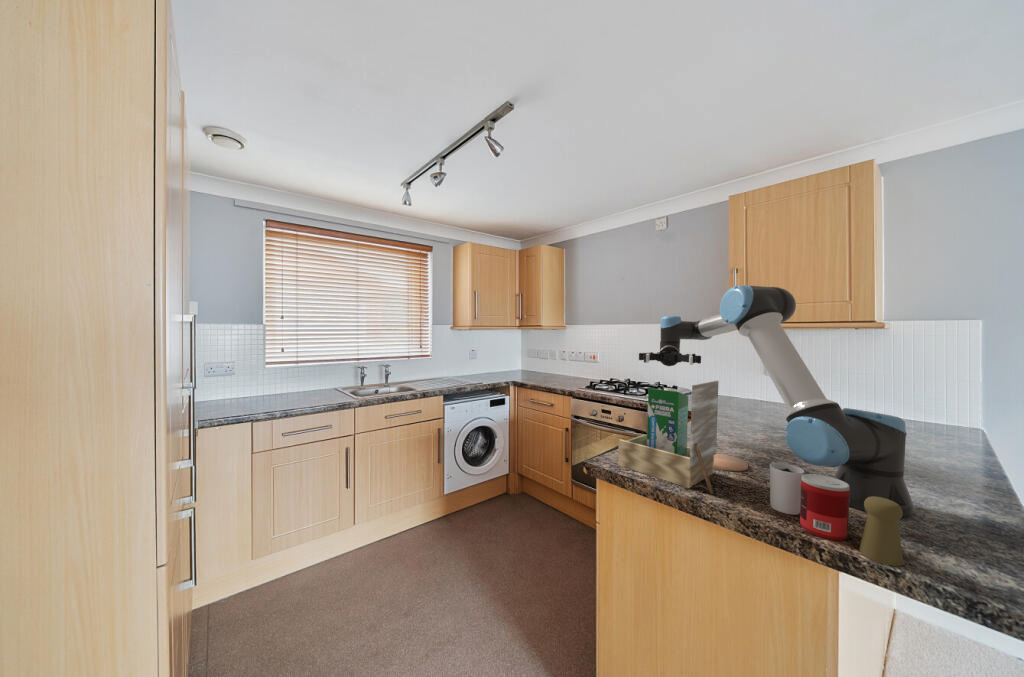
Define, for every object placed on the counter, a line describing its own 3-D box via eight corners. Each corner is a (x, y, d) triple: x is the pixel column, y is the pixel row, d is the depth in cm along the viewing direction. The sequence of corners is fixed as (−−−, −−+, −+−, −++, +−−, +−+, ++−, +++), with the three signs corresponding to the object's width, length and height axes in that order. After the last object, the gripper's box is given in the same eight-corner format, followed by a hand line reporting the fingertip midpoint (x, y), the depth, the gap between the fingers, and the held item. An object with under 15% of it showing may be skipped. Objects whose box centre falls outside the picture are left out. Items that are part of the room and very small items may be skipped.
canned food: (858, 542, 75) (860, 488, 75) (818, 540, 76) (820, 487, 75) (827, 522, 83) (828, 474, 83) (791, 521, 83) (792, 473, 83)
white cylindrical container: (763, 500, 93) (764, 461, 93) (793, 503, 92) (794, 464, 92) (776, 513, 87) (778, 471, 86) (808, 517, 85) (810, 474, 85)
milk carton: (686, 468, 115) (688, 388, 114) (676, 476, 108) (678, 391, 108) (657, 460, 121) (659, 385, 120) (645, 468, 114) (648, 387, 114)
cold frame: (734, 479, 107) (737, 382, 106) (711, 496, 96) (715, 388, 95) (645, 454, 128) (647, 373, 127) (618, 465, 116) (620, 376, 116)
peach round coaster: (753, 464, 119) (753, 461, 119) (739, 474, 110) (739, 470, 110) (710, 454, 129) (710, 450, 129) (694, 462, 120) (694, 458, 120)
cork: (852, 551, 72) (854, 495, 72) (869, 544, 75) (871, 490, 74) (894, 569, 67) (896, 509, 66) (910, 561, 69) (913, 503, 69)
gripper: (705, 367, 138) (710, 373, 118) (635, 363, 148) (629, 368, 128) (706, 347, 137) (711, 350, 118) (635, 344, 147) (630, 346, 128)
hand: (668, 359), depth 123 cm, fingers open, 13 cm apart
